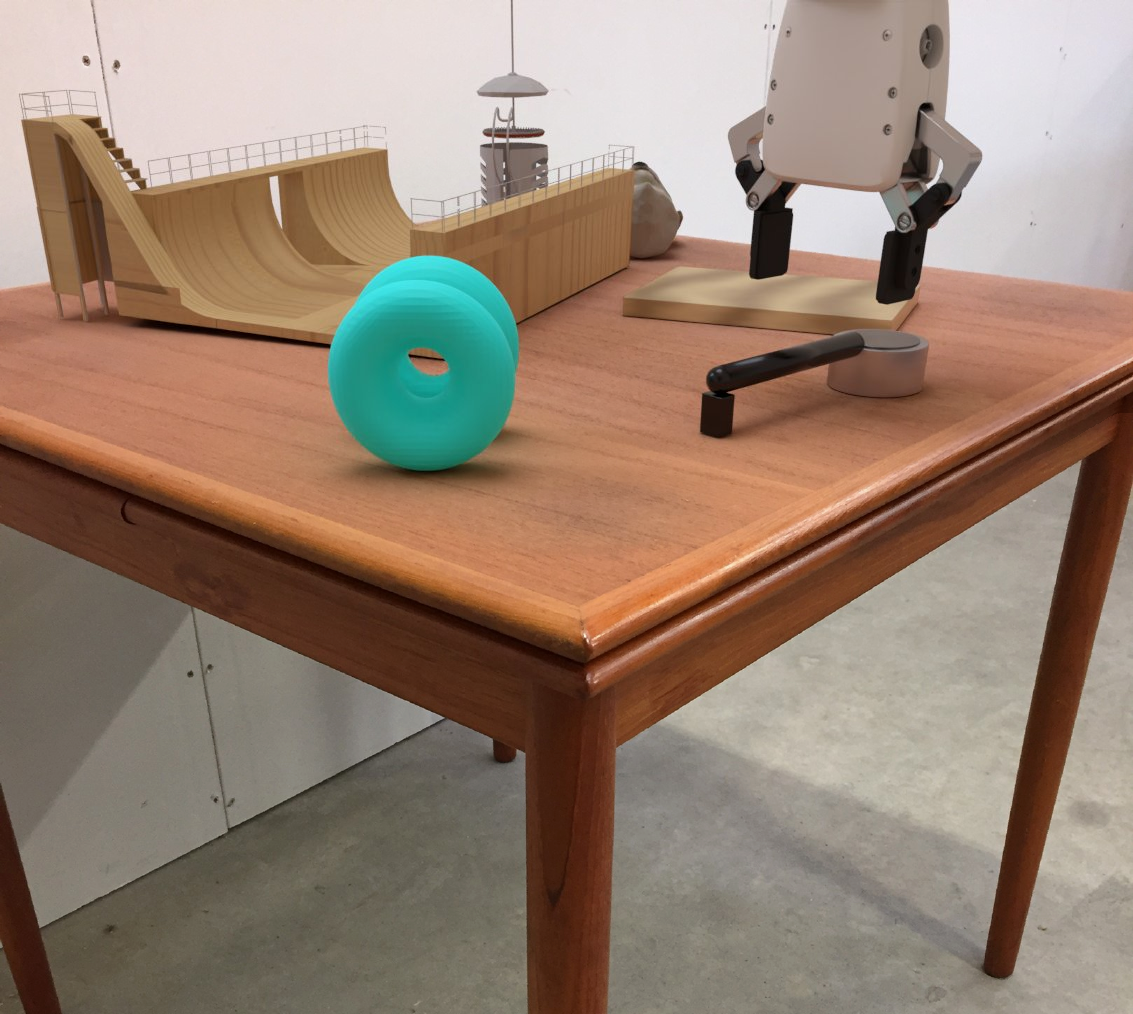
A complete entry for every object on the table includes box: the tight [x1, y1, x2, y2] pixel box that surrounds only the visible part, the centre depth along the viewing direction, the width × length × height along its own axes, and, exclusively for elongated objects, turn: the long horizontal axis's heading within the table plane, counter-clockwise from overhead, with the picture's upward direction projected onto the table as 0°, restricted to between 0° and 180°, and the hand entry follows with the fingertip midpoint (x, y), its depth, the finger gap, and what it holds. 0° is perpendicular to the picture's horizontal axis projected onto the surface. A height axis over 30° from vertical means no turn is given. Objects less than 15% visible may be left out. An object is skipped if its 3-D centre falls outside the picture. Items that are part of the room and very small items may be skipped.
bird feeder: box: [476, 0, 550, 207], centre depth 137 cm, size 10×12×25 cm
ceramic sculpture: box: [628, 161, 684, 259], centre depth 126 cm, size 11×9×15 cm
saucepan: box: [699, 329, 930, 439], centre depth 79 cm, size 20×6×4 cm, turn 133°
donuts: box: [327, 256, 520, 472], centre depth 69 cm, size 10×10×10 cm
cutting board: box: [622, 265, 922, 336], centre depth 104 cm, size 22×15×2 cm
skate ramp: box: [18, 89, 635, 360], centre depth 106 cm, size 40×35×16 cm
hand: (828, 288), depth 76 cm, fingers open, 9 cm apart
